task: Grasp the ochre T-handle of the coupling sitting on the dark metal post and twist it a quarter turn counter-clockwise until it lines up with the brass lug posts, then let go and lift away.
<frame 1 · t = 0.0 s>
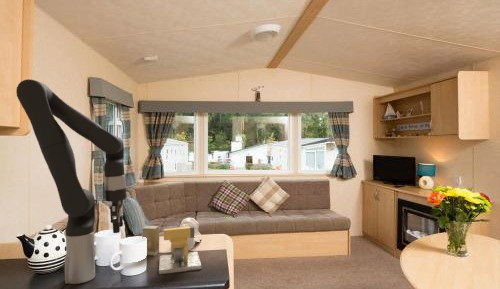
hand: (118, 229, 119), 17 cm above the table, tool pointing down, fingers open, 8 cm apart
post base: (179, 263, 128), on the table
cherub figurine: (186, 244, 152), on the table
skincare box: (151, 254, 140), on the table
coupling: (179, 263, 128), resting on post base, hinge at 0.0°
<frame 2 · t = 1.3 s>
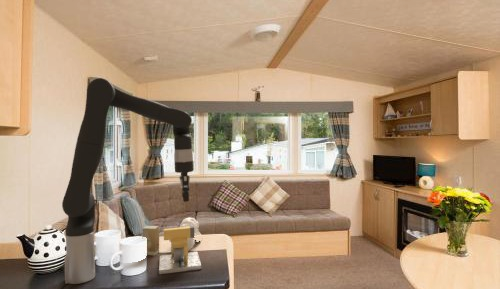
hand: (185, 199, 128), 26 cm above the table, tool pointing down, fingers open, 8 cm apart
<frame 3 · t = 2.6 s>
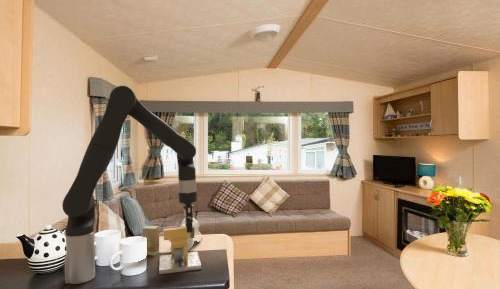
hand: (188, 229, 129), 14 cm above the table, tool pointing down, fingers open, 8 cm apart
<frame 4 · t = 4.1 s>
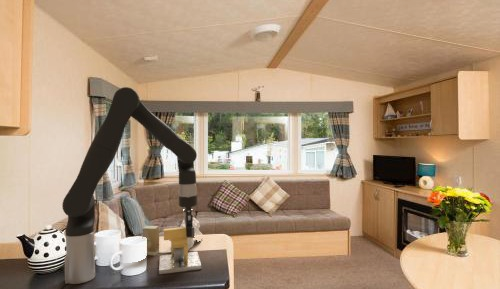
hand: (188, 235, 129), 11 cm above the table, tool pointing down, fingers closed on coupling, 2 cm apart
coupling: (179, 263, 128), resting on post base, hinge at 0.0°, touching gripper
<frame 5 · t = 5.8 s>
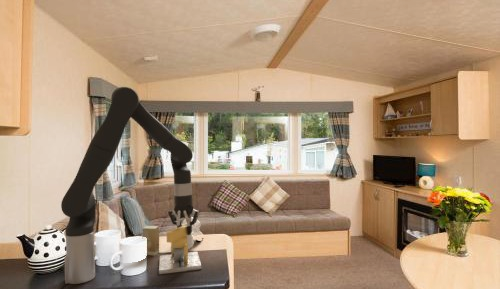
hand: (184, 234, 131), 11 cm above the table, tool pointing down, fingers closed on coupling, 3 cm apart
coupling: (179, 263, 128), resting on post base, hinge at 48.2°, touching gripper
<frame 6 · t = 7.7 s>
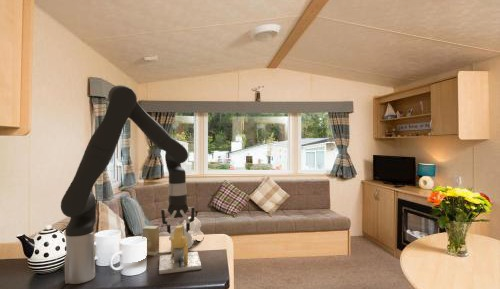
hand: (178, 232, 132), 12 cm above the table, tool pointing down, fingers open, 6 cm apart
coupling: (179, 263, 128), resting on post base, hinge at 81.5°
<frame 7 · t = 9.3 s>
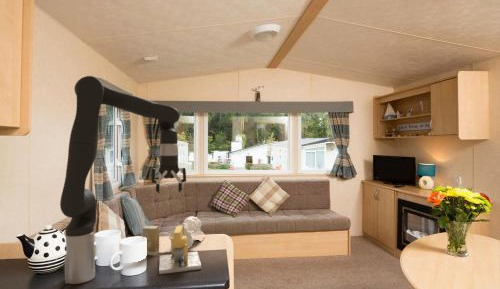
hand: (169, 192, 132), 29 cm above the table, tool pointing down, fingers open, 8 cm apart
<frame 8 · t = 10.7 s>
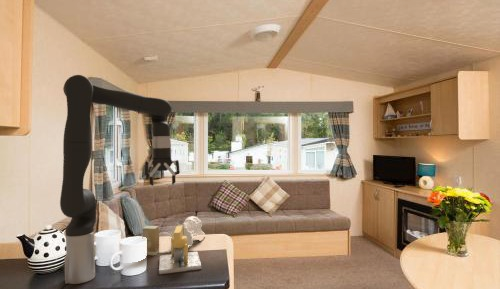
hand: (162, 184, 133), 32 cm above the table, tool pointing down, fingers open, 8 cm apart
at the end: coupling at +82° (first picture: +0°); the gripper is holding nothing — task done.
